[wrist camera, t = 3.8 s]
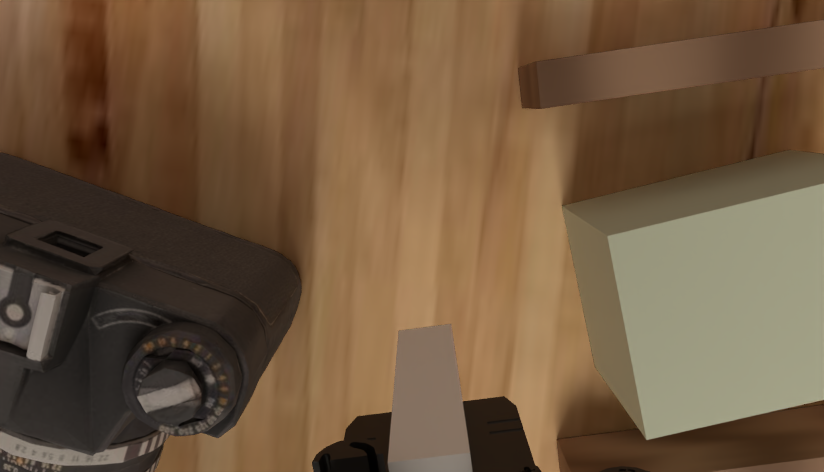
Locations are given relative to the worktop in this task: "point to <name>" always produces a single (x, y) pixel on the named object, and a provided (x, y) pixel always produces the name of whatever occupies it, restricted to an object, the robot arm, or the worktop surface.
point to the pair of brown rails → (660, 71)
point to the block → (707, 291)
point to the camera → (124, 324)
